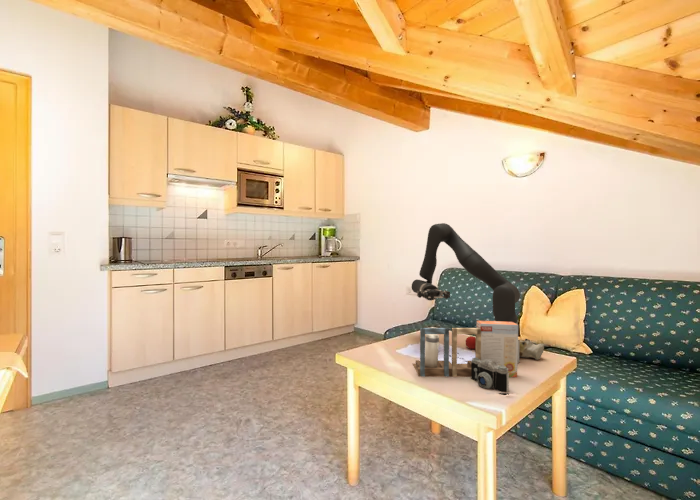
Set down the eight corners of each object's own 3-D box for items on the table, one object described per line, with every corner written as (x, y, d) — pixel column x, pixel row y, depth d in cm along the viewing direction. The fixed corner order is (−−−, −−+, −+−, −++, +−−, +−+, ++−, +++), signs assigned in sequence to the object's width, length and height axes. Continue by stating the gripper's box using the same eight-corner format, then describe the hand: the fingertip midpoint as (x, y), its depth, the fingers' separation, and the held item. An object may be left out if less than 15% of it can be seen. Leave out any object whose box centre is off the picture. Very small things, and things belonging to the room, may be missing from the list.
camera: (463, 382, 125) (463, 355, 125) (475, 378, 129) (476, 352, 129) (498, 398, 113) (498, 368, 112) (511, 393, 116) (511, 364, 116)
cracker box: (511, 374, 133) (513, 321, 133) (517, 380, 127) (519, 324, 127) (474, 372, 135) (476, 319, 134) (479, 378, 129) (480, 323, 128)
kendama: (502, 351, 167) (464, 343, 171) (505, 339, 166) (466, 331, 170) (505, 358, 160) (465, 350, 164) (507, 346, 158) (467, 338, 163)
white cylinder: (435, 368, 137) (437, 333, 136) (438, 373, 132) (440, 337, 131) (423, 367, 137) (424, 333, 137) (425, 372, 132) (427, 336, 132)
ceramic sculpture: (542, 343, 145) (504, 339, 154) (543, 363, 145) (505, 358, 154) (545, 337, 154) (509, 334, 162) (546, 357, 153) (510, 353, 162)
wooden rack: (469, 366, 142) (470, 320, 142) (482, 379, 128) (483, 329, 128) (412, 365, 142) (412, 320, 142) (418, 379, 128) (419, 328, 128)
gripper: (414, 283, 165) (420, 287, 149) (443, 283, 165) (453, 287, 149) (413, 299, 165) (420, 304, 149) (443, 299, 165) (453, 305, 149)
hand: (437, 296), depth 149 cm, fingers open, 8 cm apart
